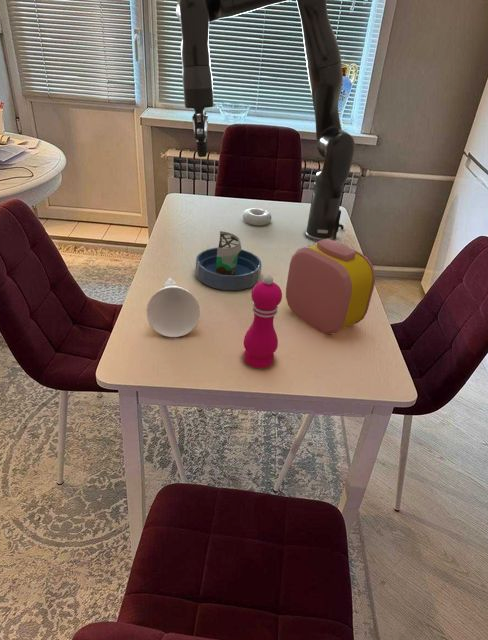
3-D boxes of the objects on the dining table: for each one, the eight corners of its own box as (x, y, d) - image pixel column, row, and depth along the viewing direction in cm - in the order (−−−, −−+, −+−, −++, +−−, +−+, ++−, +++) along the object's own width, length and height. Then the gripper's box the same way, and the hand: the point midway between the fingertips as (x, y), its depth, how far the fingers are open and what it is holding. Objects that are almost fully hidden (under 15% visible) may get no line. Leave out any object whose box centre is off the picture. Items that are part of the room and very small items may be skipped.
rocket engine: (170, 256, 120) (170, 276, 104) (205, 287, 125) (211, 310, 108) (140, 290, 123) (135, 315, 106) (175, 319, 127) (176, 347, 111)
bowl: (247, 259, 145) (248, 245, 142) (269, 288, 132) (270, 273, 129) (189, 263, 140) (189, 249, 137) (205, 294, 126) (206, 278, 124)
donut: (265, 216, 176) (238, 216, 173) (266, 206, 174) (239, 206, 171) (274, 226, 168) (247, 227, 165) (276, 217, 166) (248, 217, 163)
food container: (238, 286, 131) (241, 251, 125) (215, 284, 130) (217, 249, 125) (239, 265, 141) (242, 232, 135) (218, 263, 140) (220, 230, 135)
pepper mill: (273, 350, 109) (286, 268, 97) (276, 370, 103) (289, 286, 91) (241, 348, 108) (249, 266, 97) (242, 369, 102) (251, 284, 91)
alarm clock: (364, 330, 119) (384, 256, 108) (335, 344, 113) (353, 268, 102) (309, 297, 130) (321, 227, 119) (279, 309, 123) (289, 236, 112)
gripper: (211, 86, 119) (216, 157, 127) (213, 86, 132) (217, 151, 140) (180, 87, 119) (187, 159, 127) (185, 87, 132) (190, 152, 140)
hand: (203, 154), depth 133 cm, fingers open, 8 cm apart
